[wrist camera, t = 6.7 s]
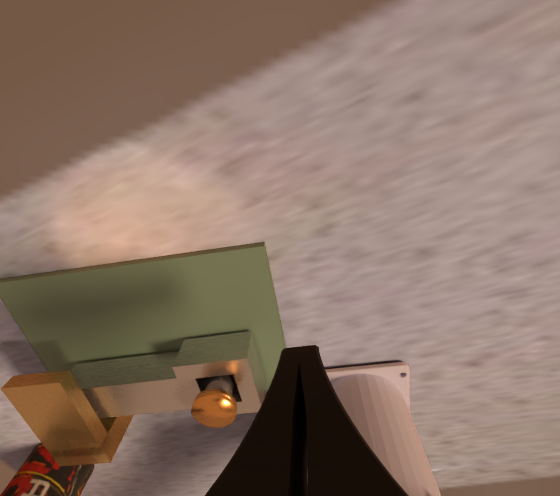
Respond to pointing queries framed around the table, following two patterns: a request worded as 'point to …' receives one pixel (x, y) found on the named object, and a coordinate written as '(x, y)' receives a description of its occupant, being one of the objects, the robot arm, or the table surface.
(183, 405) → the beige rectangular block
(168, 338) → the plate
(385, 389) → the robot arm
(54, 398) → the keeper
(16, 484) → the deodorant
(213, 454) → the table surface
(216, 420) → the orange round knob
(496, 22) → the table surface
